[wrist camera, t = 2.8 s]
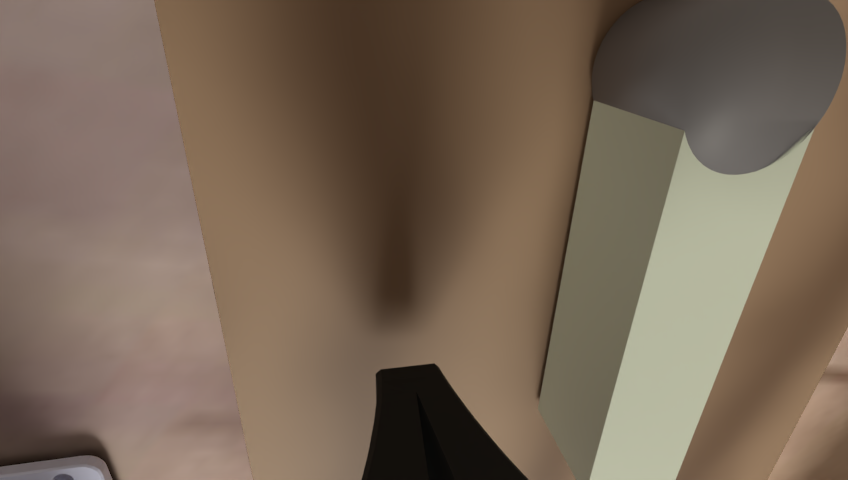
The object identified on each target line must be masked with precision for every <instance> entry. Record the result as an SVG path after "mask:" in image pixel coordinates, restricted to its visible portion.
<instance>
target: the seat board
mask: <svg viewBox="0 0 848 480" xmlns="http://www.w3.org/2000/svg"><path fill="white" fill-rule="evenodd" d="M641 1H643V0H154V2H155V7H156V12H157V17H158V21H159V26H160V31H161V36H162V41H163V46H164V50H165V55H166V60H167V65H168V70H169V75H170V80H171V84H172V89H173V94H174V99H175V104H176V109H177V113H178V118H179V123H180V128H181V133H182V138H183V143H184V147H185V152H186V157H187V162H188V167H189V172H190V176H191V181H192V186H193V191H194V196H195V201H196V206H197V210H198V215H199V220H200V225H201V230H202V235H203V239H204V244H205V249H206V254H207V259H208V264H209V269H210V273H211V278H212V283H213V288H214V293H215V298H216V302H217V307H218V312H219V317H220V322H221V327H222V332H223V336H224V341H225V346H226V351H227V356H228V361H229V365H230V370H231V375H232V380H233V385H234V390H235V395H236V399H237V404H238V409H239V414H240V419H241V424H242V429H243V433H244V438H245V443H246V448H247V453H248V458H249V462H250V467H251V472H252V477H253V480H362V476H363V472H364V468H365V464H366V460H367V456H368V451H369V446H370V441H371V435H372V430H373V424H374V418H375V409H376V373H377V372H378V371H379V370H380V369H388V368H397V367H406V366H415V365H424V364H433V363H435V364H436V365H437V366H438V367H439V368H440V370H441V371H442V373H443V375H444V376H445V378H446V379H447V381H448V382H449V384H450V385H451V386H452V388H453V389H454V391H455V392H456V394H457V395H458V396H459V398H460V399H461V400H462V402H463V403H464V404H465V406H466V407H467V408H468V410H469V411H470V412H471V414H472V415H473V416H474V418H475V419H476V420H477V421H478V422H479V424H480V425H481V426H482V427H483V429H484V430H485V431H486V432H487V433H488V435H489V436H490V437H491V438H492V440H493V441H494V442H495V443H496V444H497V445H498V447H499V448H500V449H501V450H502V451H503V452H504V453H505V455H506V456H507V457H508V458H509V459H510V460H511V461H512V462H513V463H514V464H515V465H516V467H517V468H518V469H519V470H520V471H521V472H522V473H523V474H524V475H525V476H526V477H527V478H528V479H529V480H576V479H575V477H574V475H573V473H572V471H571V469H570V468H569V466H568V464H567V462H566V460H565V458H564V457H563V455H562V453H561V451H560V449H559V447H558V445H557V444H556V442H555V440H554V438H553V436H552V434H551V432H550V431H549V429H548V427H547V425H546V423H545V421H544V420H543V418H542V416H541V414H540V412H539V410H538V405H539V400H540V394H541V389H542V383H543V378H544V372H545V367H546V361H547V356H548V350H549V345H550V339H551V333H552V328H553V322H554V317H555V311H556V306H557V300H558V295H559V289H560V284H561V278H562V273H563V267H564V262H565V256H566V251H567V245H568V240H569V234H570V228H571V223H572V217H573V212H574V206H575V201H576V195H577V190H578V184H579V179H580V173H581V168H582V162H583V157H584V151H585V146H586V140H587V135H588V129H589V123H590V118H591V112H592V107H593V101H594V100H593V95H592V71H593V66H594V61H595V58H596V55H597V52H598V49H599V47H600V45H601V43H602V41H603V39H604V37H605V36H606V34H607V32H608V31H609V30H610V28H611V27H612V26H613V24H614V23H615V22H616V21H617V20H618V19H619V18H620V16H622V15H623V14H624V13H625V12H626V11H627V10H628V9H630V8H631V7H633V6H634V5H636V4H637V3H639V2H641ZM829 1H830V2H831V3H832V4H833V5H834V7H835V8H836V10H837V11H838V12H839V15H840V17H841V19H842V21H843V25H844V29H845V34H846V59H845V66H844V70H843V74H842V78H841V81H840V84H839V86H838V89H837V91H836V94H835V96H834V98H833V100H832V102H831V104H830V106H829V108H828V109H827V111H826V113H825V114H824V116H823V117H822V119H821V120H820V122H819V123H818V124H817V126H816V127H815V128H814V131H813V134H812V136H811V139H810V141H809V144H808V146H807V149H806V151H805V154H804V156H803V159H802V161H801V164H800V166H799V169H798V171H797V174H796V177H795V179H794V182H793V184H792V187H791V189H790V192H789V194H788V197H787V199H786V202H785V204H784V207H783V209H782V212H781V214H780V217H779V220H778V222H777V225H776V227H775V230H774V232H773V235H772V237H771V240H770V242H769V245H768V247H767V250H766V252H765V255H764V257H763V260H762V263H761V265H760V268H759V270H758V273H757V275H756V278H755V280H754V283H753V285H752V288H751V290H750V293H749V295H748V298H747V300H746V303H745V305H744V308H743V311H742V313H741V316H740V318H739V321H738V323H737V326H736V328H735V331H734V333H733V336H732V338H731V341H730V343H729V346H728V348H727V351H726V354H725V356H724V359H723V361H722V364H721V366H720V369H719V371H718V374H717V376H716V379H715V381H714V384H713V386H712V389H711V391H710V394H709V397H708V399H707V402H706V404H705V407H704V409H703V412H702V414H701V417H700V419H699V422H698V424H697V427H696V429H695V432H694V434H693V437H692V440H691V442H690V445H689V447H688V450H687V452H686V455H685V457H684V460H683V462H682V465H681V467H680V470H679V472H678V475H677V477H676V480H768V478H769V476H770V474H771V472H772V470H773V468H774V466H775V464H776V462H777V461H778V459H779V457H780V455H781V453H782V451H783V449H784V447H785V445H786V443H787V442H788V440H789V438H790V436H791V434H792V432H793V430H794V428H795V426H796V424H797V423H798V421H799V419H800V417H801V415H802V413H803V411H804V409H805V407H806V405H807V404H808V402H809V400H810V398H811V396H812V394H813V392H814V390H815V388H816V386H817V385H818V383H819V381H820V379H821V377H822V375H823V373H824V371H825V369H826V367H827V366H828V364H829V362H830V360H831V358H832V356H833V354H834V352H835V350H836V348H837V346H838V345H839V343H840V341H841V339H842V337H843V335H844V333H845V331H846V329H847V327H848V0H829Z"/></svg>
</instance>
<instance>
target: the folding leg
mask: <svg viewBox="0 0 848 480" xmlns="http://www.w3.org/2000/svg"><path fill="white" fill-rule="evenodd" d="M845 59H846V34H845V29H844V25H843V21H842V19H841V17H840V15H839V12H838V11H837V10H836V8H835V7H834V5H833V4H832V3H831V2H830V1H829V0H643V1H641V2H639V3H637V4H636V5H634V6H633V7H631V8H630V9H628V10H627V11H626V12H625V13H624V14H623V15H622V16H620V18H619V19H618V20H617V21H616V22H615V23H614V24H613V26H612V27H611V28H610V30H609V31H608V32H607V34H606V36H605V37H604V39H603V41H602V43H601V45H600V47H599V49H598V52H597V55H596V58H595V61H594V66H593V71H592V95H593V100H594V101H593V107H592V112H591V118H590V123H589V129H588V135H587V140H586V146H585V151H584V157H583V162H582V168H581V173H580V179H579V184H578V190H577V195H576V201H575V206H574V212H573V217H572V223H571V228H570V234H569V240H568V245H567V251H566V256H565V262H564V267H563V273H562V278H561V284H560V289H559V295H558V300H557V306H556V311H555V317H554V322H553V328H552V333H551V339H550V345H549V350H548V356H547V361H546V367H545V372H544V378H543V383H542V389H541V394H540V400H539V405H538V410H539V412H540V414H541V416H542V418H543V420H544V421H545V423H546V425H547V427H548V429H549V431H550V432H551V434H552V436H553V438H554V440H555V442H556V444H557V445H558V447H559V449H560V451H561V453H562V455H563V457H564V458H565V460H566V462H567V464H568V466H569V468H570V469H571V471H572V473H573V475H574V477H575V479H576V480H676V477H677V475H678V472H679V470H680V467H681V465H682V462H683V460H684V457H685V455H686V452H687V450H688V447H689V445H690V442H691V440H692V437H693V434H694V432H695V429H696V427H697V424H698V422H699V419H700V417H701V414H702V412H703V409H704V407H705V404H706V402H707V399H708V397H709V394H710V391H711V389H712V386H713V384H714V381H715V379H716V376H717V374H718V371H719V369H720V366H721V364H722V361H723V359H724V356H725V354H726V351H727V348H728V346H729V343H730V341H731V338H732V336H733V333H734V331H735V328H736V326H737V323H738V321H739V318H740V316H741V313H742V311H743V308H744V305H745V303H746V300H747V298H748V295H749V293H750V290H751V288H752V285H753V283H754V280H755V278H756V275H757V273H758V270H759V268H760V265H761V263H762V260H763V257H764V255H765V252H766V250H767V247H768V245H769V242H770V240H771V237H772V235H773V232H774V230H775V227H776V225H777V222H778V220H779V217H780V214H781V212H782V209H783V207H784V204H785V202H786V199H787V197H788V194H789V192H790V189H791V187H792V184H793V182H794V179H795V177H796V174H797V171H798V169H799V166H800V164H801V161H802V159H803V156H804V154H805V151H806V149H807V146H808V144H809V141H810V139H811V136H812V134H813V131H814V128H815V127H816V126H817V124H818V123H819V122H820V120H821V119H822V117H823V116H824V114H825V113H826V111H827V109H828V108H829V106H830V104H831V102H832V100H833V98H834V96H835V94H836V91H837V89H838V86H839V84H840V81H841V78H842V74H843V70H844V66H845Z"/></svg>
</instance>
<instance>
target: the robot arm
mask: <svg viewBox="0 0 848 480" xmlns="http://www.w3.org/2000/svg"><path fill="white" fill-rule="evenodd" d="M0 480H112V477H111V475H110V472H109V470H108V467H107V465H106V463H105V462H104V461H103V460H102V459H100V458H99V457H96V456H92V455H84V456H76V457H69V458H61V459H54V460H46V461H39V462H32V463H24V464H17V465H9V466H2V467H0ZM362 480H529V479H528V478H527V477H526V476H525V475H524V474H523V473H522V472H521V471H520V470H519V469H518V468H517V467H516V465H515V464H514V463H513V462H512V461H511V460H510V459H509V458H508V457H507V456H506V455H505V453H504V452H503V451H502V450H501V449H500V448H499V447H498V445H497V444H496V443H495V442H494V441H493V440H492V438H491V437H490V436H489V435H488V433H487V432H486V431H485V430H484V429H483V427H482V426H481V425H480V424H479V422H478V421H477V420H476V419H475V418H474V416H473V415H472V414H471V412H470V411H469V410H468V408H467V407H466V406H465V404H464V403H463V402H462V400H461V399H460V398H459V396H458V395H457V394H456V392H455V391H454V389H453V388H452V386H451V385H450V384H449V382H448V381H447V379H446V378H445V376H444V375H443V373H442V371H441V370H440V368H439V367H438V366H437V365H436V364H435V363H433V364H424V365H415V366H406V367H397V368H388V369H380V370H379V371H378V372H377V373H376V409H375V418H374V424H373V430H372V435H371V441H370V446H369V451H368V456H367V460H366V464H365V468H364V472H363V476H362Z"/></svg>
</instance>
